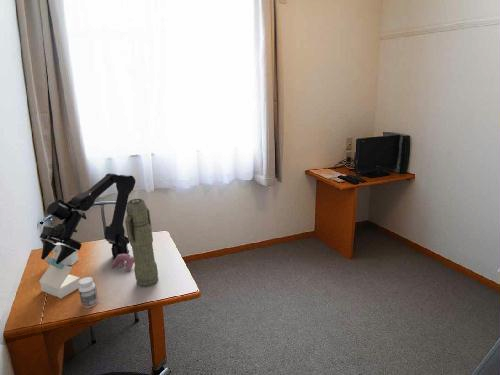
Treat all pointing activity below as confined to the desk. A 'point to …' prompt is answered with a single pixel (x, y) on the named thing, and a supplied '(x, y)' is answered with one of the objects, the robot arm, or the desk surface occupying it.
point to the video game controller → (121, 259)
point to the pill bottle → (88, 292)
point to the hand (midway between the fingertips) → (49, 261)
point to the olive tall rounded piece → (141, 242)
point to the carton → (63, 287)
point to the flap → (55, 273)
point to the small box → (70, 259)
